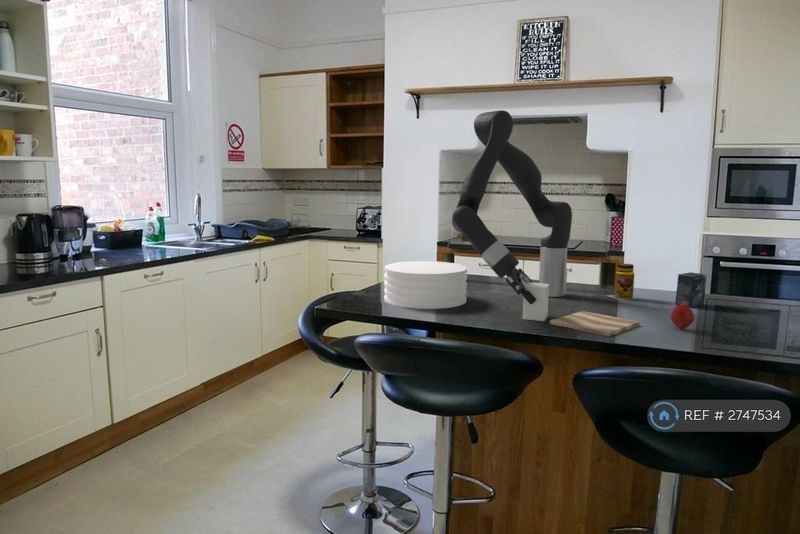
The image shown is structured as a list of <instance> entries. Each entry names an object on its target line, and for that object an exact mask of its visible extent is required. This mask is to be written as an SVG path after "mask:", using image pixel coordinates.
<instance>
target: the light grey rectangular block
mask: <svg viewBox="0 0 800 534" xmlns="http://www.w3.org/2000/svg"><path fill="white" fill-rule="evenodd" d="M525 286H526V287H527V289H528V290H529V291H530V293H531V294H532V295H533V296H534V297H535V298H536V301H535V302H534V303H533V304H530V303H529V302H528V301H527V300H526V299H525V298H524V297H523V296H522V297H523V298H522V318H521V319H522V320H527V321H528V320H529V321H536V322H537V321H538V322H545V321H546V319H548V315H549V314H548V312H549V297H548V296H549V284H542V283H539V282H533V283H529V282H527V283H526V285H525Z"/></svg>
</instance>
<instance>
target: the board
mask: <svg viewBox="0 0 800 534" xmlns="http://www.w3.org/2000/svg"><path fill="white" fill-rule="evenodd" d="M640 323H641V322H640V321H637V320H633V319H632V320H631V319H626V318H621V317H616V316H610V315H605V314H601V313H600V314H599V313H594V312H590V311H584V310H581V311H578V312H574V313H572V314H567V315H564V316H560V317H557V318H553V319H550V320H549V325H553V326H559V327H562V326H563V328H567V327H568V329H571V328H572V330H577V331H581V332H582V331H583V332H585V333H590V334H594V335H595V334H596V335H600V336H604V337H612V336H614V335H617V334H620V333H622V332H625V331H628V330H630V329H633V328H636V327H638V326H640V325H641V324H640Z"/></svg>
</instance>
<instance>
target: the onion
mask: <svg viewBox="0 0 800 534" xmlns="http://www.w3.org/2000/svg"><path fill="white" fill-rule="evenodd" d="M694 314H695V313H694V311H693V310H692V308H689V307H688V306H687V305H686V302H682V304H680V305H676V306H675V307H674V308H673V309H672V311H671V314H670V320H671V322H672V323H673V325H674V326H675V327H676V328H678V329H679V330H681V331H683V330H685V329H687V328H688V327H690V326H691V325H692V324H693V323H694V320H695V315H694Z"/></svg>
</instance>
